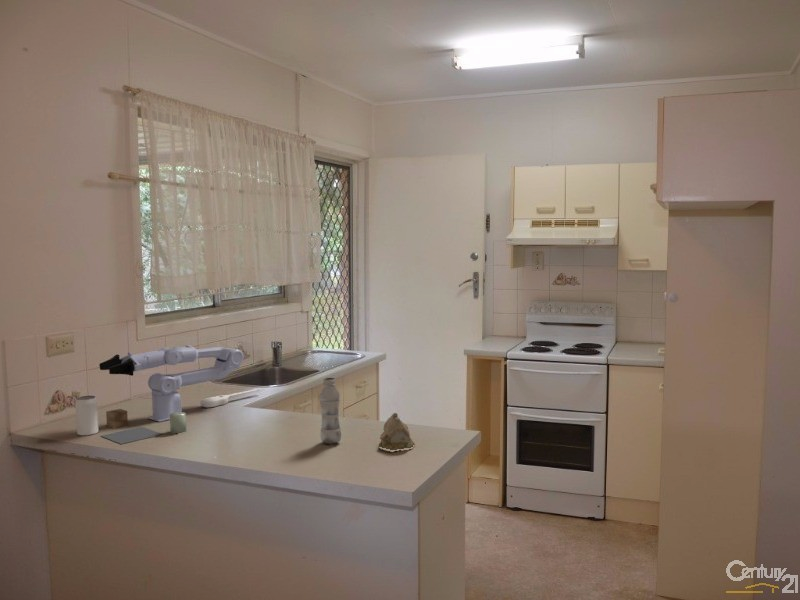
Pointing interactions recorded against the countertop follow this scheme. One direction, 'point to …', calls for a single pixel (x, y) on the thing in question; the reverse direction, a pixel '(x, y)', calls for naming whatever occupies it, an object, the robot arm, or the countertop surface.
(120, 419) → the walnut block
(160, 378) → the robot arm
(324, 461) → the countertop surface
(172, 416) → the sage cylinder
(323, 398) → the plastic bottle
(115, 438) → the slate mat
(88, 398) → the can
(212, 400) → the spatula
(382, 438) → the ceramic model
